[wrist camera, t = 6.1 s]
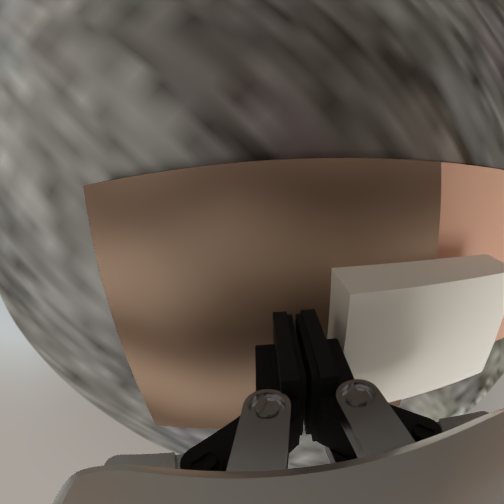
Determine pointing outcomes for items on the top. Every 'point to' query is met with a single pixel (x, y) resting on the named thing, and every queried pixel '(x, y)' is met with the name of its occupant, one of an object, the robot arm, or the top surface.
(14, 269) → the top surface
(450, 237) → the mat
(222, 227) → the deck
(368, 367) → the tile
